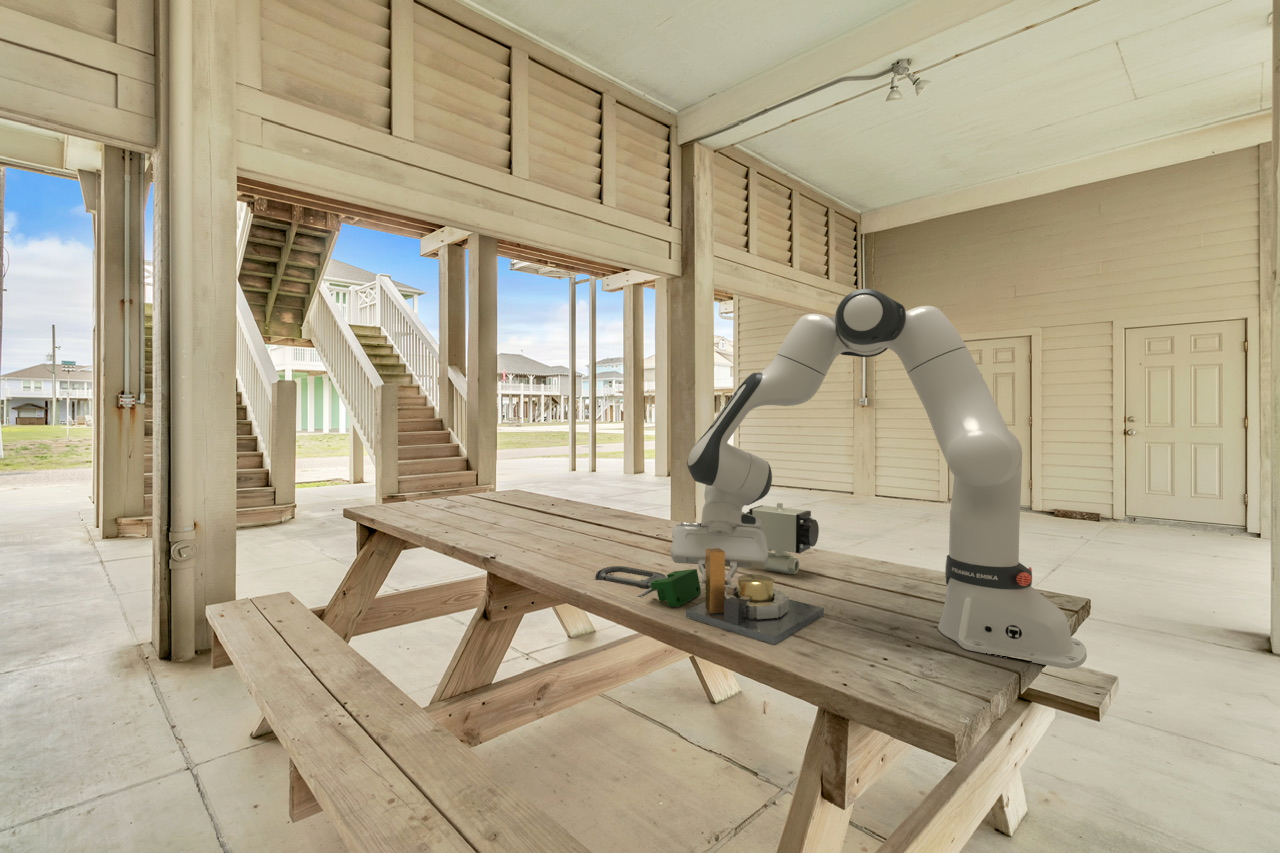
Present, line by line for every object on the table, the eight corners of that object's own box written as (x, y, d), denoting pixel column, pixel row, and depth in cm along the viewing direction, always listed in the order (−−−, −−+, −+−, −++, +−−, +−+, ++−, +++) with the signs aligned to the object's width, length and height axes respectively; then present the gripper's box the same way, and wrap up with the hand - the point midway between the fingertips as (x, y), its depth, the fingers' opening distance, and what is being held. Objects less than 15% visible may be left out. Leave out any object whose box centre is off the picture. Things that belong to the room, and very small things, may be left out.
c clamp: (682, 582, 141) (682, 571, 141) (640, 600, 127) (640, 588, 127) (619, 568, 153) (619, 558, 153) (574, 583, 140) (573, 572, 140)
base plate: (824, 615, 117) (824, 578, 117) (774, 645, 102) (774, 603, 102) (740, 593, 130) (740, 560, 130) (685, 617, 116) (685, 580, 115)
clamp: (678, 613, 130) (678, 572, 134) (701, 611, 127) (700, 570, 131) (647, 606, 122) (648, 563, 126) (670, 604, 118) (671, 560, 122)
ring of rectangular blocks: (771, 595, 123) (771, 540, 123) (797, 616, 111) (798, 554, 111) (698, 600, 120) (698, 543, 120) (717, 622, 108) (718, 558, 108)
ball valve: (820, 573, 146) (821, 504, 145) (808, 582, 139) (808, 509, 138) (755, 562, 157) (756, 497, 156) (741, 569, 150) (741, 501, 149)
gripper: (672, 514, 125) (663, 571, 116) (768, 519, 120) (767, 579, 111) (675, 529, 130) (667, 586, 121) (768, 535, 125) (767, 594, 116)
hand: (716, 583), depth 116 cm, fingers open, 3 cm apart
